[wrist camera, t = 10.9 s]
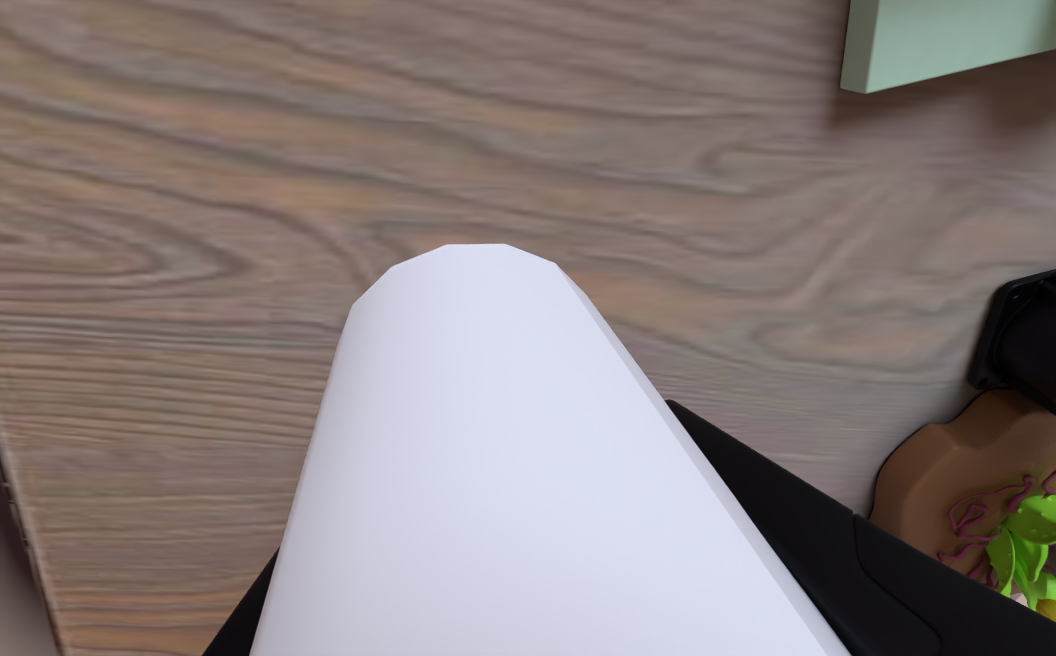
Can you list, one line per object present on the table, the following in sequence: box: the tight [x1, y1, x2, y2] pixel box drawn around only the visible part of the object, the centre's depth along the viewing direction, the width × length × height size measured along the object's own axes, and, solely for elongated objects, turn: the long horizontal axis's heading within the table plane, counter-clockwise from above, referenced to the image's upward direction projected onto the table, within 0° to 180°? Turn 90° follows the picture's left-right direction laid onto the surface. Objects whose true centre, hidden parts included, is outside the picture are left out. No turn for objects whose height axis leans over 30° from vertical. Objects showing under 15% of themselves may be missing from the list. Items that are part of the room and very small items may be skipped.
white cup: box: [249, 244, 852, 656], centre depth 8 cm, size 7×7×10 cm
